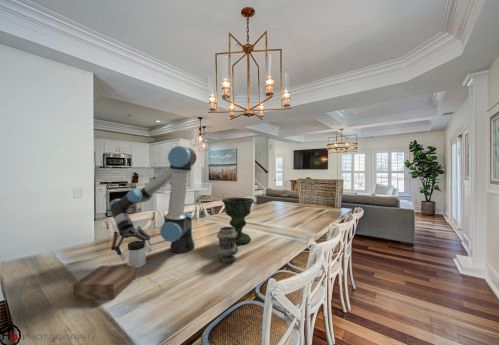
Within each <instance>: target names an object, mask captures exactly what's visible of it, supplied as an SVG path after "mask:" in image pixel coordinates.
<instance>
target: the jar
mask: <svg viewBox="0 0 499 345" xmlns="http://www.w3.org/2000/svg"><path fill="white" fill-rule="evenodd" d="M126 251H127V252H126V256H127V258H126V262H127V263H126V266H135V269H139V268H141V267H143V266H145V265H146V264H147V263H146V259H147V258H146V256H147V254H146V253H147V252H146V251H147V249H146V247H145V242H144V241H142V240H134V241H131V242H129V243H127V249H126Z"/></svg>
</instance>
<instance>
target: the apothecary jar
mask: <svg viewBox="0 0 499 345" xmlns="http://www.w3.org/2000/svg"><path fill="white" fill-rule="evenodd" d="M237 236H238V233H237V232H236V231H235V228H234V227H232V226H231V225H230V226H229V225H228V226H223V227H220V228H219V231H218V232H217V234H216V238H218V247H217V249H216V252H217V254H218V255H220V257H218V260H219V262H220V263H223V264H230V263H234V262H235V261H237V257H236V256H235V255H236V254H237V253H238V251H239V247H238V245H236V238H237Z"/></svg>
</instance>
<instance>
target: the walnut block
mask: <svg viewBox="0 0 499 345" xmlns="http://www.w3.org/2000/svg"><path fill="white" fill-rule="evenodd" d="M135 280H136V268H135V266H127V265H100V266H99V267H97V268H96V269H95V270H93V271H91V272H89V273H88V274H86V275H85V276H83V277H81V278H80V279H78V280H77V281H75V282H74V283H73V286H72V287H73V288H72V289H73V290H72V291H73V292H72V293H73V300H115V299H116V298H117V297H118V296H119V295H120V294H121V293H122V292H123V291H124V290H125V289H126V288H127V287H129V285H131V283H133V282H134V281H135Z"/></svg>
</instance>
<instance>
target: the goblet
mask: <svg viewBox="0 0 499 345" xmlns="http://www.w3.org/2000/svg"><path fill="white" fill-rule="evenodd" d="M221 202H222V203H223V205H224V207H225V214H226V215H227V216H228V217H230V218H231V220H230V221H229V225H230V227H234V228H235V231H236V232H237V233H238V236H237V238H236V246H241V245H246V244H249V243H250V242H251V241H252V238H251V236H250V235H249V234H247V233H245V232H243V228H244V227H245V226H246V225H247V221H246V219H245V218H246V217H247V216H249V215H250V214H251V207H252V205H253V203H254V202H255V200H254V198H251V197H240V196H239V197H238V196H237V197H236V196H235V197H228V198H223V199H222V200H221Z"/></svg>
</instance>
